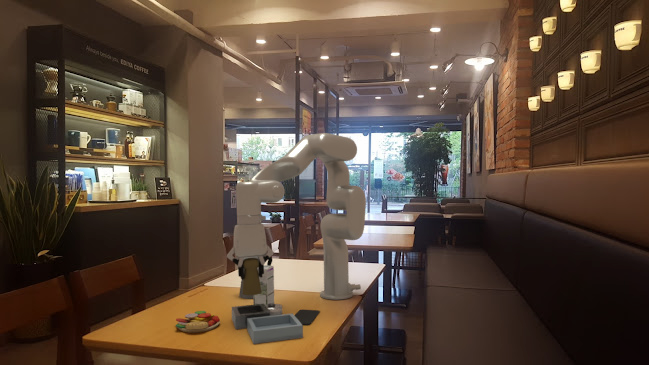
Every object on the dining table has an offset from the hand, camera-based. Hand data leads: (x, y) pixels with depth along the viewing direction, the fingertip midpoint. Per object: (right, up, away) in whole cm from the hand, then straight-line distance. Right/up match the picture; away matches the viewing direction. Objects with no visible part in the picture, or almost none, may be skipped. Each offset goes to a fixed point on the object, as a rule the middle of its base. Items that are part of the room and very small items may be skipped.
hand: (251, 277), depth 139 cm
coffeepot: (-4, -14, +32) cm, 35 cm away
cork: (0, -5, 0) cm, 5 cm away
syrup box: (+2, -14, +16) cm, 22 cm away
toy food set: (-16, -15, -3) cm, 22 cm away
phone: (+17, -15, +4) cm, 22 cm away
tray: (+9, -14, -11) cm, 20 cm away
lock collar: (+2, -14, +3) cm, 15 cm away
